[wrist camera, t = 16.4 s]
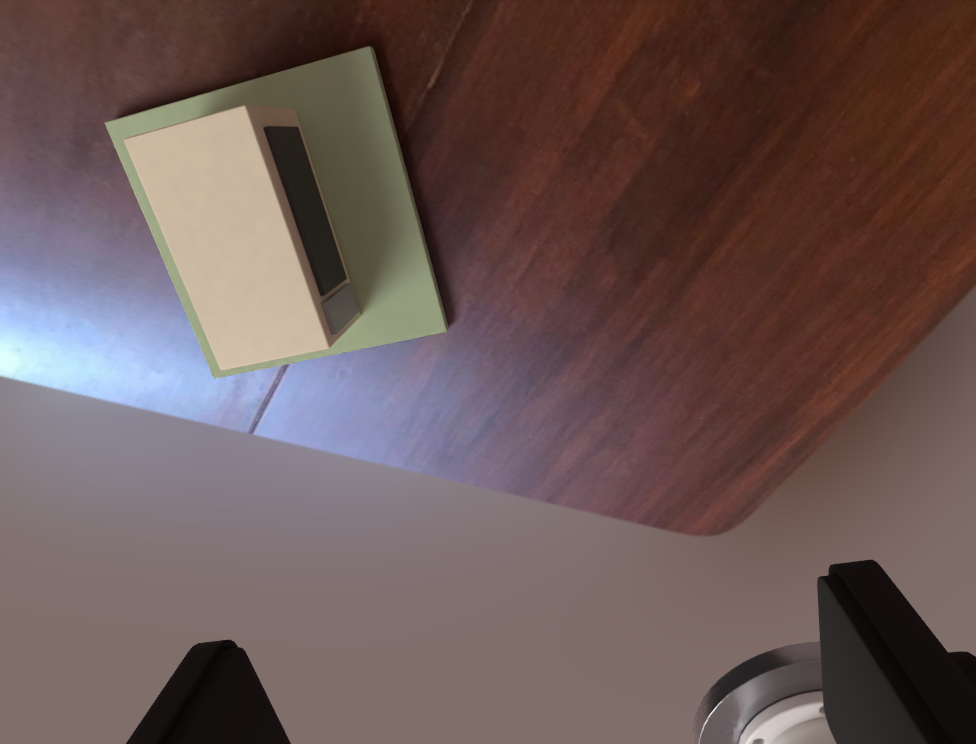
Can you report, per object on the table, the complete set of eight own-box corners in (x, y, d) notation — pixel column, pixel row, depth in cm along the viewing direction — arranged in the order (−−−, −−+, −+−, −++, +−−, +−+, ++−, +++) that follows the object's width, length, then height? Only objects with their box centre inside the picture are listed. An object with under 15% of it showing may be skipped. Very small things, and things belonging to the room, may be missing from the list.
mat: (449, 328, 37) (447, 331, 37) (219, 374, 40) (213, 379, 39) (373, 47, 32) (369, 45, 31) (113, 122, 35) (103, 122, 34)
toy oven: (300, 107, 33) (251, 102, 27) (366, 315, 37) (335, 347, 31) (191, 137, 34) (122, 138, 28) (267, 336, 38) (219, 371, 32)
